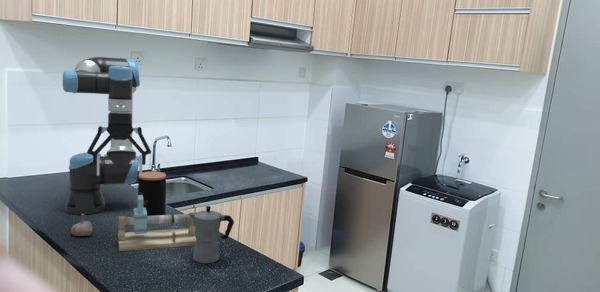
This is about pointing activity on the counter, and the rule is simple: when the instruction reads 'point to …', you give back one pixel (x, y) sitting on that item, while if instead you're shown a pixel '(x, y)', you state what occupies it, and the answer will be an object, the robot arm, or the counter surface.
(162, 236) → the pipe stand
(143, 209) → the collar
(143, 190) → the coffee jar
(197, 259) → the coffeepot
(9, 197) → the counter surface
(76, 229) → the garlic bulb
